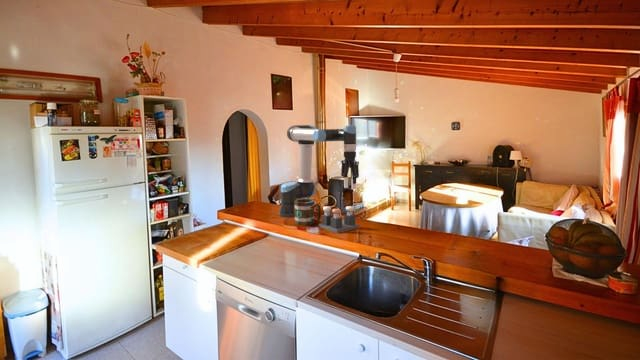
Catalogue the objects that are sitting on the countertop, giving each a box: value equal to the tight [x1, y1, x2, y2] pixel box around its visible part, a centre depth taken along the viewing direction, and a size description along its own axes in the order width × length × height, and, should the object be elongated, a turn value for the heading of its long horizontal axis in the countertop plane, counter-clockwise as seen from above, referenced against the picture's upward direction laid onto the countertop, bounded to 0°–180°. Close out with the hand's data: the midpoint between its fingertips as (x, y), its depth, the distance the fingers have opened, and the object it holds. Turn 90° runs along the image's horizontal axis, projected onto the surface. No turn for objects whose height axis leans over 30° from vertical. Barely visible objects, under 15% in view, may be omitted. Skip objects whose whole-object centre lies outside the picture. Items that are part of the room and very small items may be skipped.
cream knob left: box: [345, 205, 355, 216], centre depth 217 cm, size 5×5×8 cm
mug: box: [294, 198, 321, 227], centre depth 227 cm, size 20×14×15 cm
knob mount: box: [318, 213, 360, 234], centre depth 218 cm, size 18×18×8 cm
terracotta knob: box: [331, 208, 341, 218], centre depth 210 cm, size 5×5×8 cm
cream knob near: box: [322, 205, 332, 216], centre depth 217 cm, size 5×5×8 cm
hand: (349, 188), depth 215 cm, fingers open, 6 cm apart
